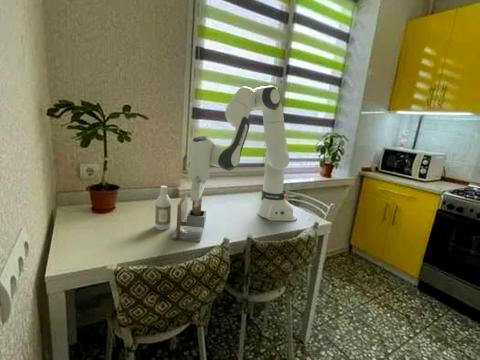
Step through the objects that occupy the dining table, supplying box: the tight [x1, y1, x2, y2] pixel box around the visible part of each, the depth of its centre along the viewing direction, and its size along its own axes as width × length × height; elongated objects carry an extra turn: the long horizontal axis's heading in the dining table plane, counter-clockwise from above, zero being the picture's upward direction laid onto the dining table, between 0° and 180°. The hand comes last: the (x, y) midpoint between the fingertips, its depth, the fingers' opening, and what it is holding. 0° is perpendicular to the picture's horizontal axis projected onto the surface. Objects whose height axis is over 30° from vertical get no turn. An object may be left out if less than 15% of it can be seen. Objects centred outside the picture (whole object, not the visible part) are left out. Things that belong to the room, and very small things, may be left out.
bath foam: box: [154, 185, 172, 231], centre depth 129 cm, size 7×7×20 cm
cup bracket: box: [171, 193, 207, 243], centre depth 126 cm, size 13×16×16 cm
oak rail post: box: [191, 194, 203, 216], centre depth 125 cm, size 4×4×12 cm
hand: (197, 204), depth 125 cm, fingers closed on oak rail post, 4 cm apart
